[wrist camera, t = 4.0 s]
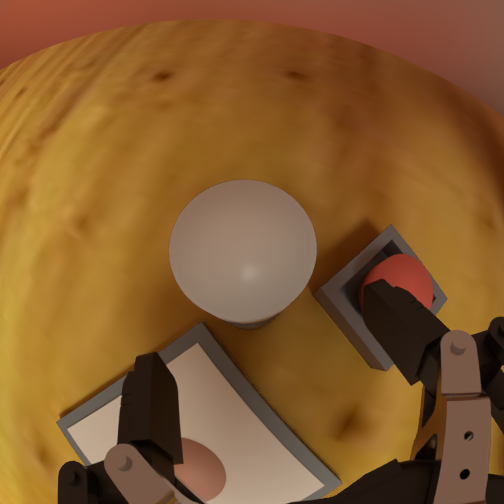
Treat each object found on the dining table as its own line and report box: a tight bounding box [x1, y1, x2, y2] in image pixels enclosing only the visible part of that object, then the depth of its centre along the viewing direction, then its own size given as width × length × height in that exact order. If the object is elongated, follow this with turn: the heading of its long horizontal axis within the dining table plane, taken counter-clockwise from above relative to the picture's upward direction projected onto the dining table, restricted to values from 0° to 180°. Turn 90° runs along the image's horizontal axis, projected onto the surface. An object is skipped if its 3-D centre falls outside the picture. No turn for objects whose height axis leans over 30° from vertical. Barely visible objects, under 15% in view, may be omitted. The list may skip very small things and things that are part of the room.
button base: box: [312, 224, 447, 371], centre depth 17 cm, size 7×7×2 cm
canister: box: [169, 180, 317, 330], centre depth 13 cm, size 4×4×11 cm
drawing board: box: [56, 322, 342, 504], centre depth 14 cm, size 16×16×1 cm
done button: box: [358, 254, 433, 314], centre depth 15 cm, size 4×4×2 cm
